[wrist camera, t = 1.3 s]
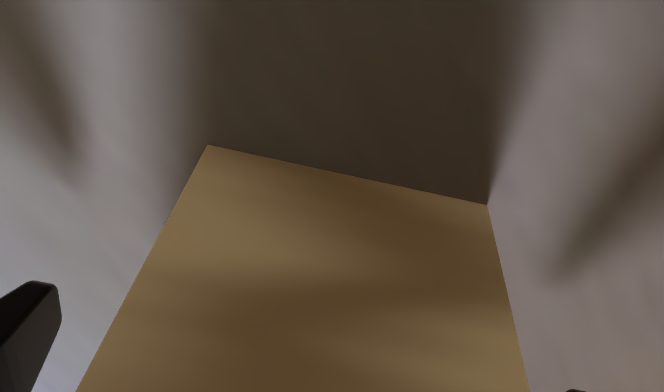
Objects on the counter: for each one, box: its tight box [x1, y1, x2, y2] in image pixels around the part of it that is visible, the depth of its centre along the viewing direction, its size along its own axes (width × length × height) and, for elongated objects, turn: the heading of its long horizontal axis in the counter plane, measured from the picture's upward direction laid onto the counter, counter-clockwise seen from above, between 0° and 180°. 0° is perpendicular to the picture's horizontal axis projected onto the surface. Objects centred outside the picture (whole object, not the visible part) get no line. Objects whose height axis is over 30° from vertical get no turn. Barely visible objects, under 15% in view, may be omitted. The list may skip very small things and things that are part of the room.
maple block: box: [76, 144, 530, 392], centre depth 9 cm, size 5×5×5 cm
